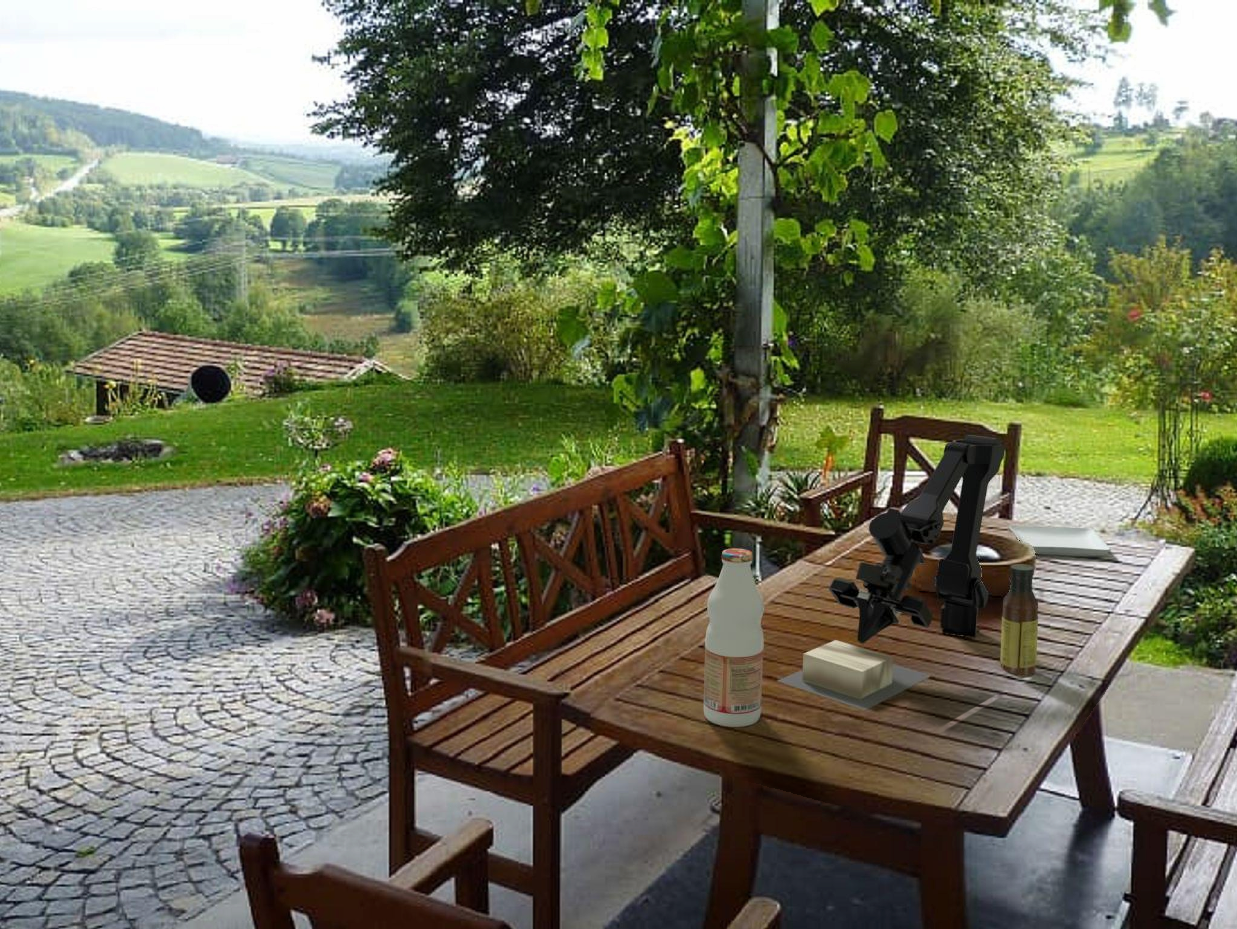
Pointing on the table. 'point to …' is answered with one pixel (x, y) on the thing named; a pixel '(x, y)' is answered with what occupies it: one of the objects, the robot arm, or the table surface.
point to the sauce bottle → (1019, 623)
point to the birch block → (847, 669)
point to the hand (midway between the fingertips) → (859, 641)
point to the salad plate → (1062, 540)
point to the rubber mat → (900, 682)
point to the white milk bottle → (734, 645)
